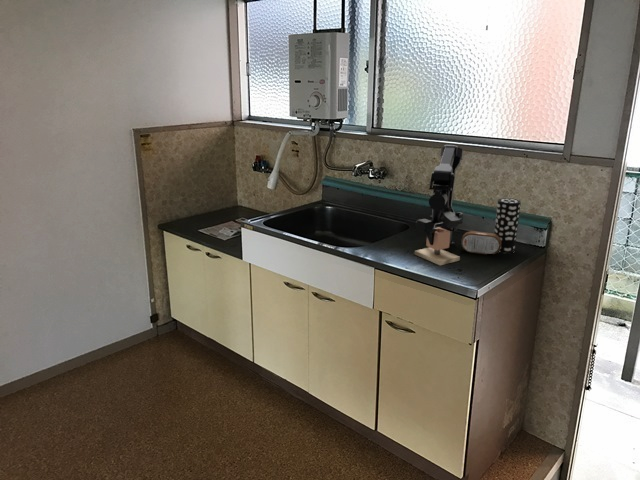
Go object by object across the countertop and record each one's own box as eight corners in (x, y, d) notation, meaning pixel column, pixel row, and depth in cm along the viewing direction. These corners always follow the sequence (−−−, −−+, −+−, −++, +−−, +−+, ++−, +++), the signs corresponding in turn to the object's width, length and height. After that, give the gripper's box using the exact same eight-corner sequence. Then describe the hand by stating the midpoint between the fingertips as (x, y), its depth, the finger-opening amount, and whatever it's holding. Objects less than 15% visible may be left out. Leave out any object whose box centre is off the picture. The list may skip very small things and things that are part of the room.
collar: (438, 243, 201) (439, 227, 199) (449, 247, 197) (450, 231, 194) (426, 245, 199) (427, 229, 196) (437, 250, 194) (438, 233, 192)
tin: (500, 254, 202) (502, 233, 200) (499, 256, 200) (502, 235, 197) (460, 249, 207) (462, 229, 205) (459, 252, 205) (461, 231, 202)
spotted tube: (508, 254, 201) (515, 204, 195) (488, 249, 207) (494, 200, 200) (518, 249, 207) (524, 200, 201) (498, 245, 212) (503, 197, 206)
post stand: (433, 249, 207) (435, 229, 204) (459, 260, 196) (461, 238, 193) (414, 254, 202) (415, 233, 199) (439, 265, 191) (441, 243, 188)
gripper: (437, 211, 181) (434, 254, 186) (475, 204, 190) (471, 245, 195) (415, 205, 190) (413, 245, 195) (453, 198, 199) (450, 237, 204)
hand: (437, 243), depth 197 cm, fingers closed on collar, 6 cm apart
